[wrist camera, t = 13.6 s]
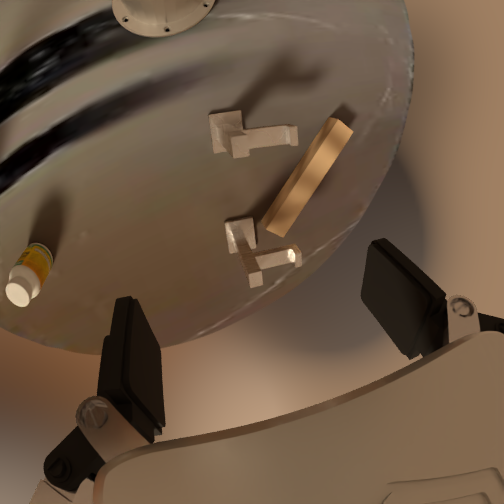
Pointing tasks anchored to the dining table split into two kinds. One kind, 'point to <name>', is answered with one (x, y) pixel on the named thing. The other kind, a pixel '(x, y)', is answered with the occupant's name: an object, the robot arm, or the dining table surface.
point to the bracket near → (246, 134)
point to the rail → (306, 176)
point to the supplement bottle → (29, 274)
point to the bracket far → (252, 263)
